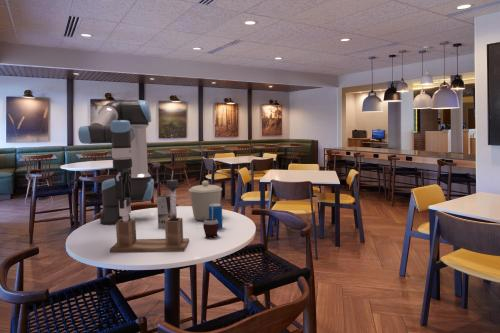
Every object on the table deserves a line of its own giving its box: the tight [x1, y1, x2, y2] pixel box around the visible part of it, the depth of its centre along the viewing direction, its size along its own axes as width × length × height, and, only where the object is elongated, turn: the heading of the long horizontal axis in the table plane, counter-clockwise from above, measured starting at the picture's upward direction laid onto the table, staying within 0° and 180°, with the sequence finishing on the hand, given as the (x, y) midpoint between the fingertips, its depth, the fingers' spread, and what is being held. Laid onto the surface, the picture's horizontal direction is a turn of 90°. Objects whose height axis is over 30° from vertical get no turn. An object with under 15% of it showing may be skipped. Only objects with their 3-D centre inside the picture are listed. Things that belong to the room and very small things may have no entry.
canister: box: [188, 180, 223, 222], centre depth 191 cm, size 18×18×21 cm
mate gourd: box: [202, 202, 219, 239], centre depth 159 cm, size 8×8×15 cm
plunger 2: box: [166, 179, 179, 221], centre depth 145 cm, size 4×4×18 cm
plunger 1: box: [122, 197, 131, 222], centre depth 145 cm, size 4×4×18 cm
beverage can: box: [209, 203, 223, 231], centre depth 171 cm, size 6×6×12 cm
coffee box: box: [156, 193, 171, 230], centre depth 177 cm, size 9×6×16 cm
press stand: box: [109, 217, 190, 254], centre depth 146 cm, size 12×30×12 cm, turn 90°
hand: (125, 214), depth 145 cm, fingers closed on plunger 1, 4 cm apart
